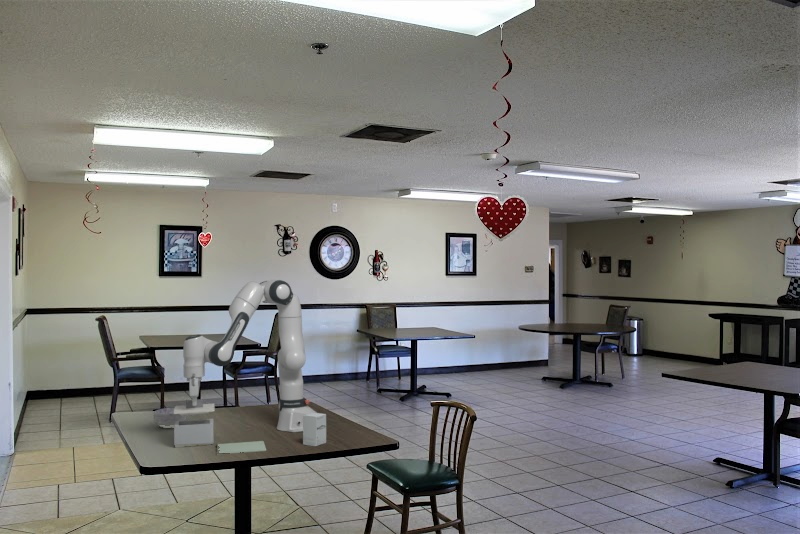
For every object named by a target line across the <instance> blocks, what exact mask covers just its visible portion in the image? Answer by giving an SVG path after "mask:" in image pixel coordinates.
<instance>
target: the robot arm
mask: <svg viewBox="0 0 800 534" xmlns="http://www.w3.org/2000/svg"><path fill="white" fill-rule="evenodd" d="M262 303H264V304H271V305H274V304H275V305H276V307H277V313H278V314H277V316H278V317H277V321H278V323H277V324H278V337H279V343H280V349H279V351H278V352H277V366H278V378H279V379H278V380H279V399H278V410H279V411H278V412H279V414H278V416H279V417H278V422H277V426H276V430H278V431H282V432H290V433H298V432H303V415H307V414H311V413H318V412H317V411H316V410H314V409H313V408H312V407H310V406H309V404H310V399H308V398H305V397H304V379H303V372H302V368H304V366H305V364H306V360H307V357H306V352H305V342H304V337H303V335H304V334H303V317H302V306H301V301H300V298H299V296H298V295H296V294H294V293H293V291H292V287H291V286H290V284H289V283H288V282H286V281H284V280H281V279H270V280H264V281H261V282H260V283H259V282H257V281H256V282H255V281H249V282H247V283H246V284H245V285H243V287H241V289H240V290H239V291H238V293H237V294H236V295H235V297H234V298H233V300H232V301H231V303H230V305H229V308H228V313H229V317H230V318H231V323H230V326H229V328H228V330H227V331H226V333H225V335H224V337H223V338H222V339H221V340H220V341H219V342H218V341H215V340H211V339H209V338H206V337H205V336H204V335H202V334H194V335H190V336H187V337H186V338H185V339H184V341H183V348H182V349H183V353H182V355H183V356H182V357H183V360H184V362H183V378H185V379H186V382H189V387H188V388H189V391H188V392H189V394H188V395H189V398H191V400H192V405H193V406H196V405H197V400H198V397H199V396H200V395H199V393H200V387H201V381H202V379H203V377H205V373H206V372H205V371H206V368H205V367H206V366H205V365H206V363H210V364H212V365H215V366H217V367H224V366H227V365H229V364H230V363H231V362H232V360H233V358H234V355H235V350H236V347H237V345H238V343H239V341H240V340H241V337H242V336H243V334H244V332H245V330H246V328H247V327H248V324H249V322H250V321H251V318H252V316H253V315H254V314H255V312H256V311H257V309H258V307H259V305H261V304H262Z"/></svg>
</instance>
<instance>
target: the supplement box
mask: <svg viewBox="0 0 800 534" xmlns="http://www.w3.org/2000/svg"><path fill="white" fill-rule="evenodd" d="M326 443H327V414H326V413H322V412H321V413H320V412H317V413H311V414H307V415H303V431H302V445H304V446H305V445H306V446H309V447H317V446H321V445H324V444H326Z"/></svg>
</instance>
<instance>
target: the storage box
mask: <svg viewBox="0 0 800 534" xmlns="http://www.w3.org/2000/svg"><path fill="white" fill-rule="evenodd" d="M173 430H174V434H173V438H174V440H173V441H174V442H173V443H174V444H173V445H176V444H215V443H214V441H215V440H214V418H202V419H188V420H182V421H176V422H175V426H174V428H173Z"/></svg>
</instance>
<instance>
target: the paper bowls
mask: <svg viewBox="0 0 800 534" xmlns="http://www.w3.org/2000/svg"><path fill="white" fill-rule="evenodd" d="M174 409H175V407H167V408H160V409H157V410H155V411H153V422H154V423H155V424H157V425H158V424H159V425H165V426H170V425H175V422H176V421H182V420H187V419H188V418H187V417H188V415H180V414H174Z"/></svg>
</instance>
